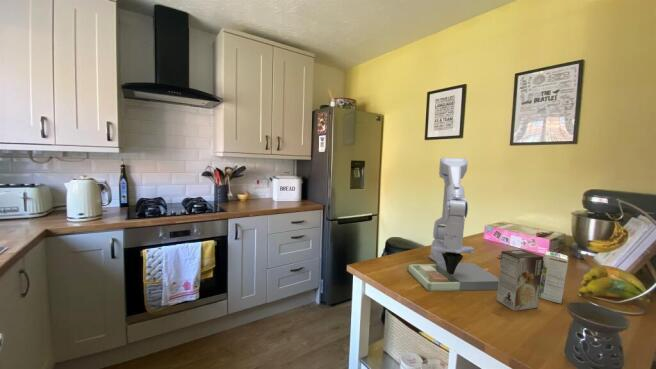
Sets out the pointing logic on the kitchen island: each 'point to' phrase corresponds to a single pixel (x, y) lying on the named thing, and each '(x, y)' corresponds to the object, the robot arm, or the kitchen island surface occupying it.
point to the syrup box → (553, 277)
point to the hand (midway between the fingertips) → (450, 273)
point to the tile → (426, 270)
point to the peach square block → (437, 277)
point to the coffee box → (519, 279)
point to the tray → (431, 286)
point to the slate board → (470, 276)
